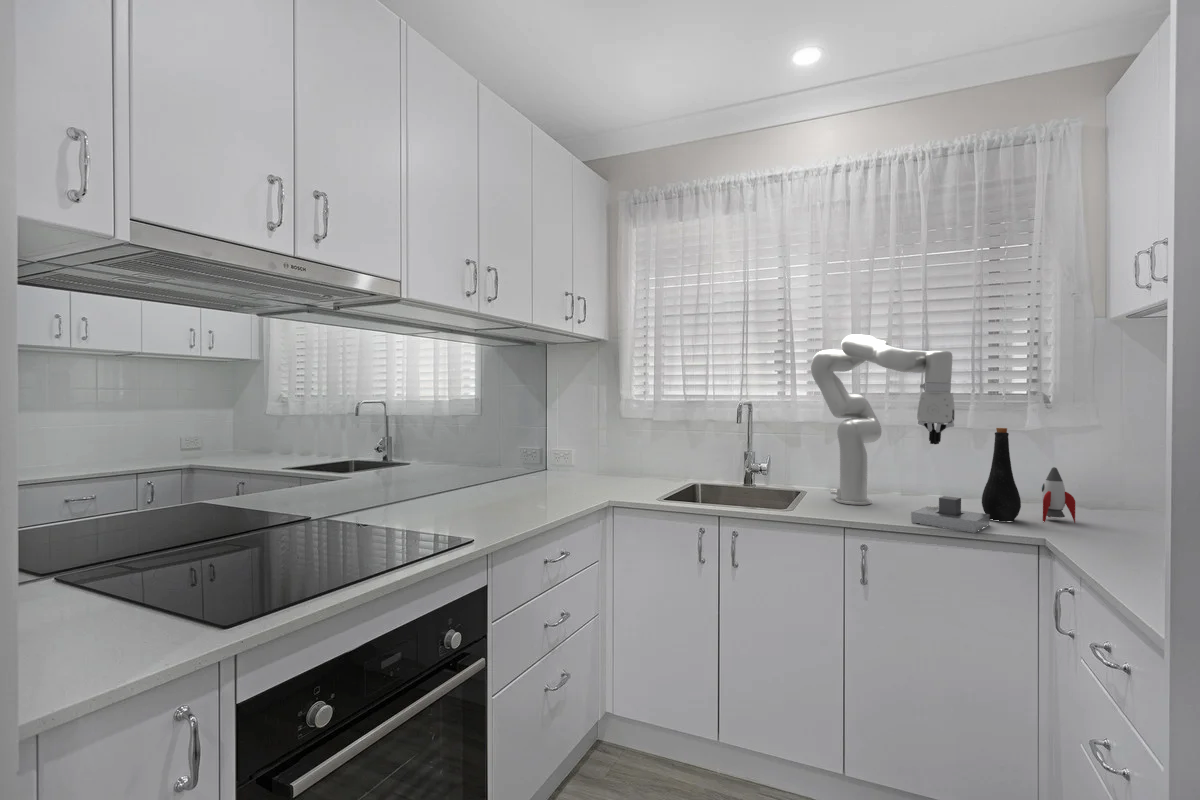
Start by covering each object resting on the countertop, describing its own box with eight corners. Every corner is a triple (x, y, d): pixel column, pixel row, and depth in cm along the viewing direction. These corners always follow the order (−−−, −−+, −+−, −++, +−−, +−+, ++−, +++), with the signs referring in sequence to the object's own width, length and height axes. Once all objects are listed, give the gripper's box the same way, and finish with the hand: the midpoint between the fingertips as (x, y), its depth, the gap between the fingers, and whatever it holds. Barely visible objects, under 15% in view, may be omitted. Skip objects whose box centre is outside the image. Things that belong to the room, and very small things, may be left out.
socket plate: (911, 522, 188) (911, 509, 188) (927, 516, 198) (927, 503, 198) (975, 532, 175) (975, 518, 175) (989, 525, 184) (989, 511, 184)
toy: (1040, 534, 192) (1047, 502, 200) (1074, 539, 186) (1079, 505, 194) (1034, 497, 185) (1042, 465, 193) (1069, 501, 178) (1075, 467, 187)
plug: (938, 523, 186) (938, 497, 186) (946, 519, 191) (946, 495, 191) (955, 525, 183) (955, 500, 183) (963, 522, 188) (963, 497, 188)
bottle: (1020, 525, 185) (1021, 429, 184) (980, 520, 191) (980, 428, 191) (1021, 519, 193) (1022, 427, 193) (982, 514, 200) (983, 426, 199)
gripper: (908, 387, 197) (906, 442, 198) (958, 389, 186) (955, 447, 187) (918, 387, 202) (915, 440, 203) (967, 389, 190) (963, 445, 192)
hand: (934, 443), depth 195 cm, fingers closed
